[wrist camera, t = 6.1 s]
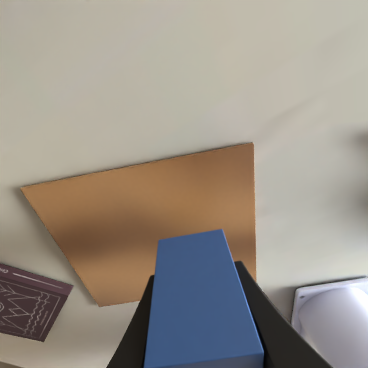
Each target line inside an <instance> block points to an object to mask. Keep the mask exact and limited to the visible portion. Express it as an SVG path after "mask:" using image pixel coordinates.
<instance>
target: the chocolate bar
mask: <svg viewBox="0 0 368 368" xmlns="http://www.w3.org/2000/svg"><path fill="white" fill-rule="evenodd" d="M72 288H73V286H72V285H69V284H66V283H63V282H59V281H56V280H53V279H49V278H46V277H43V276H40V275H36V274H33V273H30V272H26V271H23V270H20V269H17V268H13V267H10V266H7V265H3V264H0V333H5V334H9V335H14V336H18V337H23V338H28V339H32V340H37V341H41V342H44V341H45V339H46V337H47V335H48V333H49V331H50V329H51V327H52V325H53V324H54V322H55V320H56V318H57V316H58V314H59V312H60V310H61V309H62V307H63V305H64V303H65V301H66V299H67V297H68V295H69V293H70V292H71V290H72Z"/></svg>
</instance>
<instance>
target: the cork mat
mask: <svg viewBox="0 0 368 368" xmlns="http://www.w3.org/2000/svg"><path fill="white" fill-rule="evenodd" d="M20 189H21V191H22V192H23V194H24V195H25V197H26V198H27V200H28V201H29V203H30V204H31V206H32V207H33V209H34V210H35V212H36V213H37V215H38V216H39V218H40V219H41V221H42V222H43V224H44V225H45V227H46V228H47V230H48V231H49V233H50V234H51V236H52V237H53V239H54V240H55V242H56V243H57V244H58V246H59V247H60V249H61V250H62V252H63V253H64V255H65V256H66V258H67V259H68V261H69V262H70V264H71V265H72V267H73V268H74V270H75V271H76V273H77V274H78V276H79V277H80V279H81V280H82V282H83V283H84V285H85V286H86V288H87V289H88V291H89V292H90V294H91V295H92V297H93V298H94V300H95V301H96V303H97V304H98V306H99V307H103V306H110V305H116V304H122V303H129V302H135V301H140V300H141V298H142V295H143V293H144V290H145V288H146V285H147V283H148V280H149V277H150V276H151V275H154V274H155V266H156V257H157V248H158V240H161V239H166V238H172V237H178V236H184V235H190V234H195V233H201V232H207V231H213V230H218V229H223V232H224V235H225V238H226V241H227V244H228V247H229V250H230V253H231V256H232V259H233V262H235V261H242V262H243V263H244V265H245V267H246V268H247V270H248V271H249V273H250V274H251V276H252V277H253V279H254V280H255V282H256V236H255V181H254V143H252V142H251V143H246V144H241V145H236V146H231V147H226V148H220V149H215V150H210V151H205V152H200V153H195V154H189V155H184V156H179V157H174V158H169V159H164V160H158V161H153V162H148V163H143V164H138V165H133V166H127V167H122V168H117V169H112V170H107V171H102V172H96V173H91V174H86V175H81V176H76V177H71V178H65V179H60V180H55V181H50V182H45V183H40V184H34V185H29V186H24V187H22V188H20Z"/></svg>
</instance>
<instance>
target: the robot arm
mask: <svg viewBox="0 0 368 368" xmlns="http://www.w3.org/2000/svg"><path fill="white" fill-rule="evenodd" d="M234 264H235V267H236V270H237V273H238V276H239V279H240V282H241V285H242V288H243V291H244V294H245V297H246V300H247V303H248V306H249V309H250V312H251V315H252V318H253V321H254V324H255V327H256V330H257V333H258V336H259V339H260V342H261V345H262V347H263V350H264V368H368V277H367V278H361V279H354V280H348V281H341V282H335V283H328V284H322V285H315V286H309V287H302V288H298V289H297V290H296V292H295V299H294V307H293V314H292V322H291V324H290V323H289V322H288V321H287V320H286V319H285V318H284V317H283V315H282V314H281V313H280V312H279V311H278V310H277V308H276V307H275V306H274V305H273V304H272V302H271V301H270V300H269V299H268V297H267V296H266V295H265V294H264V292H263V291H262V290H261V288H260V287H259V286H258V284H257V283H256V282H255V280H254V279H253V277H252V276H251V274H250V273H249V271H248V270H247V268H246V267H245V265H244V263H243V262H242V261H235V262H234ZM153 283H154V275H151V276H150V277H149V280H148V283H147V285H146V288H145V290H144V293H143V295H142V298H141V300H140V303H139V305H138V307H137V309H136V312H135V314H134V316H133V318H132V320H131V322H130V324H129V326H128V328H127V330H126V332H125V334H124V336H123V338H122V340H121V342H120V344H119V346H118V348H117V350H116V352H115V353H114V355H113V357H112V359H111V360H110V362H109V364H108V366H107V367H106V368H144V361H145V352H146V344H147V335H148V326H149V318H150V309H151V300H152V292H153Z"/></svg>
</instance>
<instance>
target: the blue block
mask: <svg viewBox="0 0 368 368" xmlns="http://www.w3.org/2000/svg"><path fill="white" fill-rule="evenodd" d="M144 368H264V350H263V347H262V345H261V342H260V339H259V336H258V333H257V330H256V327H255V324H254V321H253V318H252V315H251V312H250V309H249V306H248V303H247V300H246V297H245V294H244V291H243V288H242V285H241V282H240V279H239V276H238V273H237V270H236V267H235V264H234V262H233V259H232V256H231V253H230V250H229V247H228V244H227V241H226V238H225V235H224V232H223V229H218V230H213V231H207V232H201V233H195V234H190V235H184V236H178V237H172V238H166V239H161V240H158V248H157V257H156V266H155V274H154V283H153V292H152V300H151V309H150V318H149V326H148V335H147V344H146V352H145V361H144Z"/></svg>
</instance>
